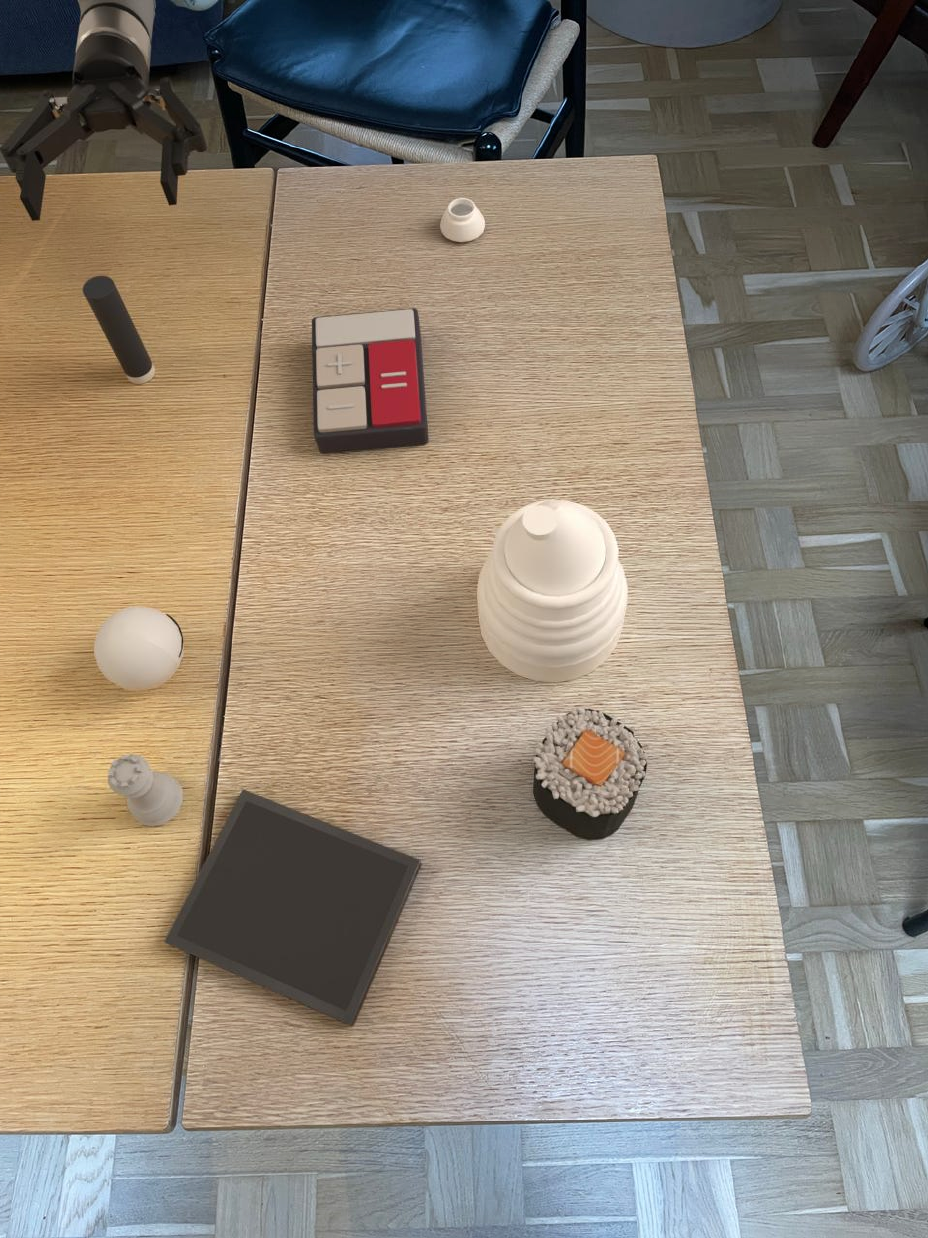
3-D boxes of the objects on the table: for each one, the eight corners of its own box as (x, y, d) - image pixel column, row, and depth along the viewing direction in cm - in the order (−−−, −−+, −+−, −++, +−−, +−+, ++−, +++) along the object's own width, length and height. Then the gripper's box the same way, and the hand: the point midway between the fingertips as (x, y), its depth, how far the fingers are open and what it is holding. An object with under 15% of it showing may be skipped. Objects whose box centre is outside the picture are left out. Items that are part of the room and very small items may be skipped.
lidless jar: (436, 241, 110) (479, 247, 110) (434, 220, 108) (478, 225, 107) (446, 210, 112) (489, 216, 112) (445, 189, 110) (488, 194, 109)
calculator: (312, 433, 94) (309, 311, 100) (320, 458, 98) (317, 339, 104) (426, 422, 94) (417, 301, 100) (429, 448, 98) (420, 330, 104)
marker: (121, 379, 103) (76, 293, 92) (136, 359, 104) (93, 272, 94) (146, 387, 102) (103, 301, 92) (160, 366, 104) (120, 279, 93)
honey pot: (556, 711, 84) (566, 613, 68) (449, 620, 88) (433, 508, 72) (652, 612, 88) (682, 497, 72) (544, 530, 92) (550, 405, 76)
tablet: (168, 944, 76) (162, 941, 75) (246, 793, 82) (242, 788, 80) (353, 1027, 73) (350, 1025, 72) (422, 863, 78) (420, 860, 77)
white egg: (197, 695, 86) (171, 660, 79) (113, 711, 86) (80, 677, 79) (191, 597, 91) (166, 556, 84) (111, 612, 90) (79, 572, 84)
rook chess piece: (189, 776, 83) (158, 743, 75) (179, 828, 80) (147, 799, 73) (137, 775, 83) (101, 742, 76) (126, 827, 81) (89, 798, 74)
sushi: (567, 724, 83) (572, 686, 76) (654, 777, 81) (667, 744, 74) (514, 801, 80) (514, 769, 73) (602, 858, 78) (611, 832, 71)
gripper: (237, 85, 109) (236, 218, 99) (13, 110, 109) (-10, 246, 99) (218, 17, 102) (215, 153, 92) (-20, 44, 102) (-48, 182, 92)
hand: (99, 201), depth 96 cm, fingers open, 13 cm apart
